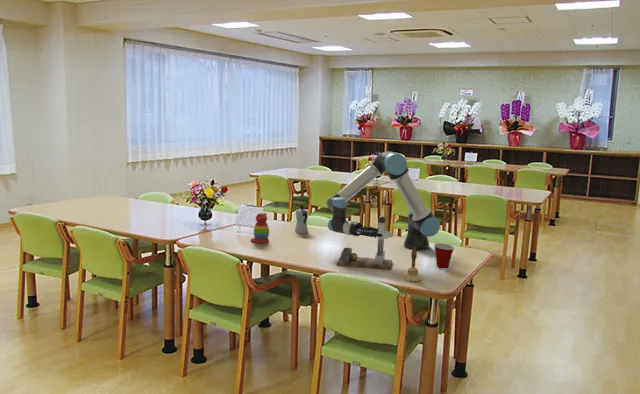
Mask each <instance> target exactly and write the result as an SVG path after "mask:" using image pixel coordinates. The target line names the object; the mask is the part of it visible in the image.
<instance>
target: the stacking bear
mask: <svg viewBox="0 0 640 394" xmlns="http://www.w3.org/2000/svg"><path fill="white" fill-rule="evenodd" d="M255 220H256V222H255V224H254V227H253V236H254V237H252V238H250V242H251V243H254V244H260V245H263V244H268V243H270V241H269V235H270V227H269V224H268V222H267V221H268V216H267V213H265V212H264V213H263V212H262V213H258V214H256V216H255Z"/></svg>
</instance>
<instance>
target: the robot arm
mask: <svg viewBox="0 0 640 394" xmlns="http://www.w3.org/2000/svg"><path fill="white" fill-rule="evenodd" d="M409 171H410V170H409V167H408V161H407V159H406V157H405V156H404V155H402V154H401V153H399V152H394V151H390V150H388V151H387V150H386V151H383V152H382V153H380V154H379V155H377V156H376V157H375V158H373V160H371V161H370V162H369V165H368V166H367V167H366V168H365V169H364V170H363V171H362V172H360V173H359V174H358V175H357V176H355V178H353V179H352V180H351V181H350V182H349V183H348V184H346V185H345V186H344V187H342V189H340V190H339V191H338V192H337V193H336V194H334V195H333V196H330V197H329V196H328V198H327V199H326V203H325V204H326V206H327V208H328V209H329V210H330V211H331V212H332V217H330V219H329V220H328V223H327V228H328V230H329V231H331V232H334V233H340V234H343V235H344V234H345V235H348V236H353V237H359V236H365V237H367V238H368V237H370V238H374V239H377V238H378V237H380V238H384V240H385V239H386V240H389V238H393V232H391V231H387V230H384V233H383V232H378V227H377V228H376V227H372V226H365V225H364V226H363V224H362V223H361V222H359V221H358V222H357V221H352V220H347V202H349V201H350V199H352V198H353V197H354V196H355V195H357V194H358V193H359V192H361V190H362V189H364V188H365V187H366V186H368V185H369V184H371V182H372V181H373V180H375V178H377V177H378V176H382V175H383V174H384V173H386V175H387V176H388V178H389V180H391V181H394V183H395V186H396V187H397V188H398V190H399V192H400V194H401V195H402V198H403V199H404V201H405V203H406V205H407V207H408V209H409V211H408V215H407V216H408V218H407V219H408V220H407V234H406V237H405V239H404V241H403V242H404V243H403V247H404V248H406V249H410V250H413V248H416V251H417V250H419V251H422V250H428V249H430V241H429V238H430V237H434V236H436V235H437V234H438V233H439V231H440V230H441V222H440V221H439V219H438V218H437V217H435V216H434V214H433V211H432V210H431V208H428V207H426V204H425V202H424V201H423V199H422V197H421V195H420V194H419V192H418V190H417V187H416V186H415V184H414V183H413V182H414V181H412V179H411V177H410V175H409ZM428 237H429V238H428Z"/></svg>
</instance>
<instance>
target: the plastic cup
mask: <svg viewBox="0 0 640 394" xmlns="http://www.w3.org/2000/svg"><path fill="white" fill-rule="evenodd" d="M433 246H434V251H435V253H434V254H435V261H436V268H438V267H439V268H438V269H441V268H447V269H449V266H450V262H451V258H452V254H453V251H454V250H455V248H456V247H455V246H453V245H451V244H447V243H443V242H442V243H441V242H438V243H434V244H433Z"/></svg>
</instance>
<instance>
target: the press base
mask: <svg viewBox="0 0 640 394" xmlns="http://www.w3.org/2000/svg"><path fill="white" fill-rule="evenodd" d="M392 263H393V260H392V259H386V258H385V259H384V263H383V265H376V264H375V258H373V257H364V256H363V257H361V256H360V257H359V256H358V254H357V253H356V252H353V248H352V247H344V248H343V250H342V251H341V253H340V257H339V258H338V260H337V261H336V266H340V267H342V266H343V267H354V268H365V269H374V270H375V269H376V270H386V271H387V270H388V271H390V270H391V268H392Z"/></svg>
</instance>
